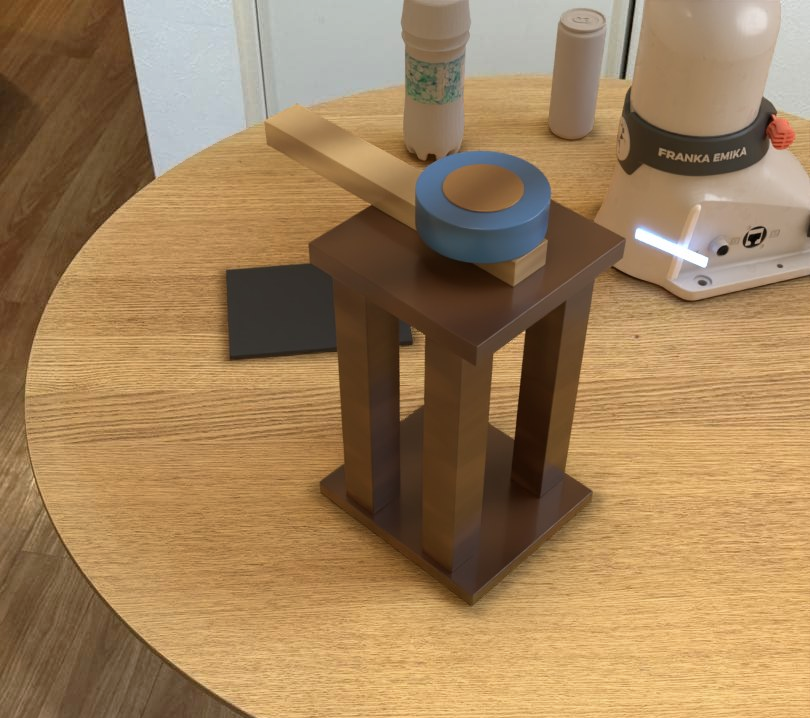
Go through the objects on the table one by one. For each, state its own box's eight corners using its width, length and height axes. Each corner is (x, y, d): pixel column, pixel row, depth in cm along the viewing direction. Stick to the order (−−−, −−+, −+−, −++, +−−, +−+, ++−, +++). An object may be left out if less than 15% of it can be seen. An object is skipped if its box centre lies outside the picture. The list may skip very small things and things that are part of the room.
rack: (319, 491, 90) (296, 236, 72) (440, 401, 97) (448, 145, 78) (471, 606, 83) (490, 355, 65) (591, 501, 90) (640, 245, 71)
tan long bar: (238, 159, 77) (230, 100, 74) (325, 112, 81) (321, 53, 78) (485, 307, 68) (489, 246, 64) (571, 246, 71) (579, 185, 68)
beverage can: (590, 143, 121) (605, 33, 112) (544, 138, 122) (555, 28, 113) (594, 119, 124) (609, 9, 115) (550, 114, 125) (561, 4, 116)
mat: (396, 260, 109) (396, 256, 108) (413, 344, 101) (413, 340, 101) (226, 274, 108) (225, 269, 107) (230, 360, 100) (229, 356, 100)
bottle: (474, 161, 119) (484, -36, 104) (411, 172, 118) (412, -26, 102) (453, 127, 123) (460, -67, 108) (393, 137, 122) (391, -58, 107)
